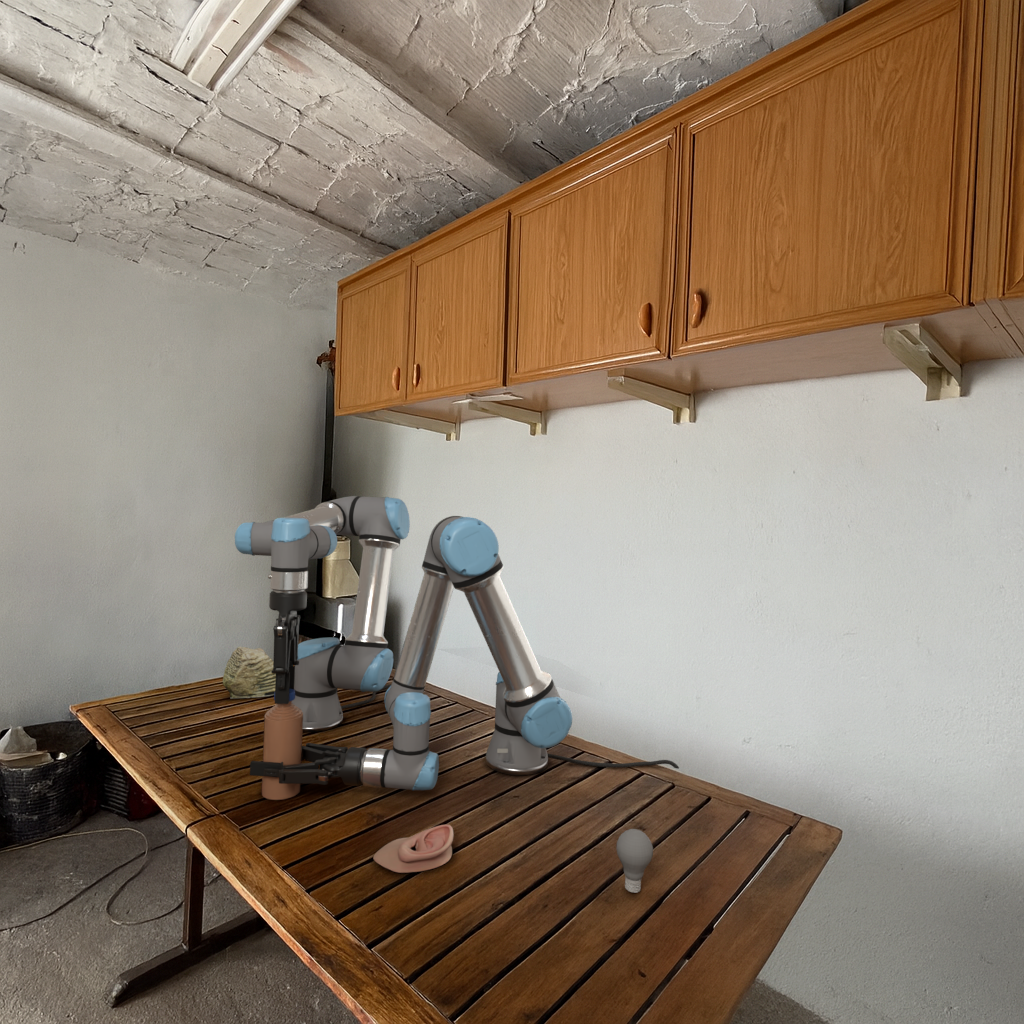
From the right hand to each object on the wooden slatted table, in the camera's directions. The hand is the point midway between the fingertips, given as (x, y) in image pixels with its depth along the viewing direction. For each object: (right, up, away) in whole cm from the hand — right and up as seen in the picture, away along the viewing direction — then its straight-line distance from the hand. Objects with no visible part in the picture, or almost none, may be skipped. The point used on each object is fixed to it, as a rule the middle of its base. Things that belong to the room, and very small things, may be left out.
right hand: (260, 759), depth 136 cm
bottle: (+4, -7, 0) cm, 8 cm away
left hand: (+5, +13, 0) cm, 14 cm away
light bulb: (+74, -10, -30) cm, 81 cm away
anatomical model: (+36, -9, -22) cm, 44 cm away
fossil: (-27, -4, +62) cm, 68 cm away
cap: (+5, +14, -1) cm, 15 cm away
